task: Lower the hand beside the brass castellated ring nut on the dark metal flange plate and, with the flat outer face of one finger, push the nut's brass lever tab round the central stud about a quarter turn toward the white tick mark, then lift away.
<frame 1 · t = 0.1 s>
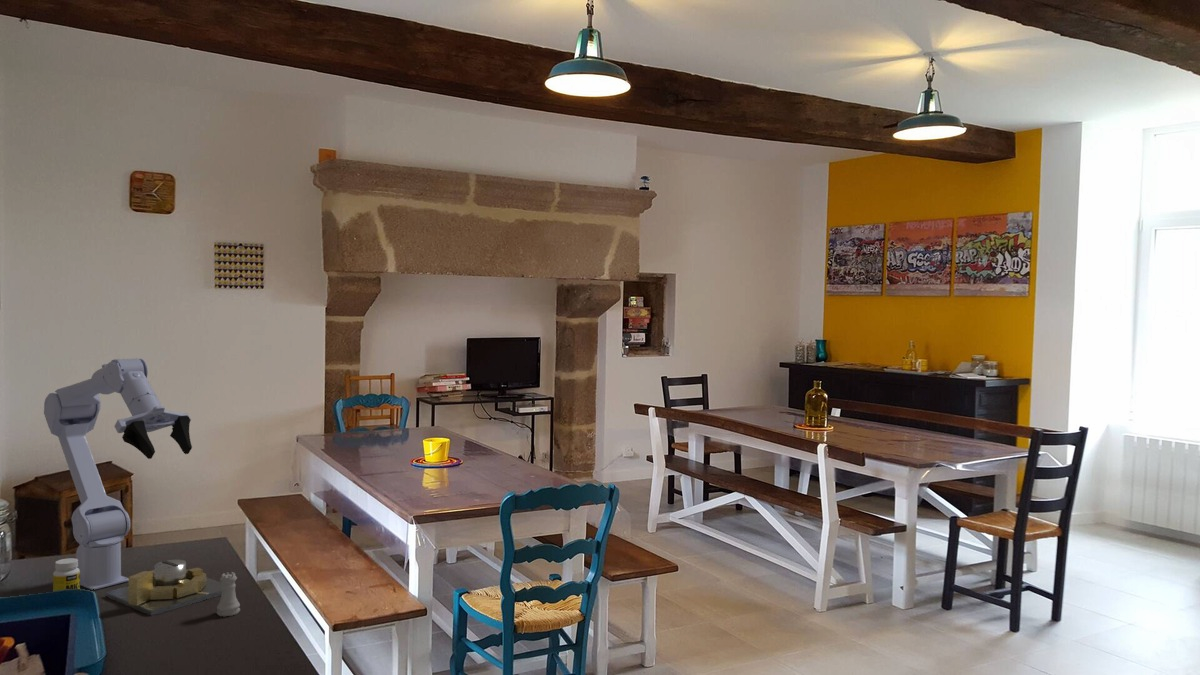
hand: (170, 453, 174), 32 cm above the table, tool tilted 50°, fingers open, 7 cm apart
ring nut: (162, 577, 183), point 4 cm above the table, hinge at 0.0°
flange plate: (170, 594, 185), on the table
supplement bottle: (66, 602, 180), on the table
rook chess piece: (228, 614, 175), on the table
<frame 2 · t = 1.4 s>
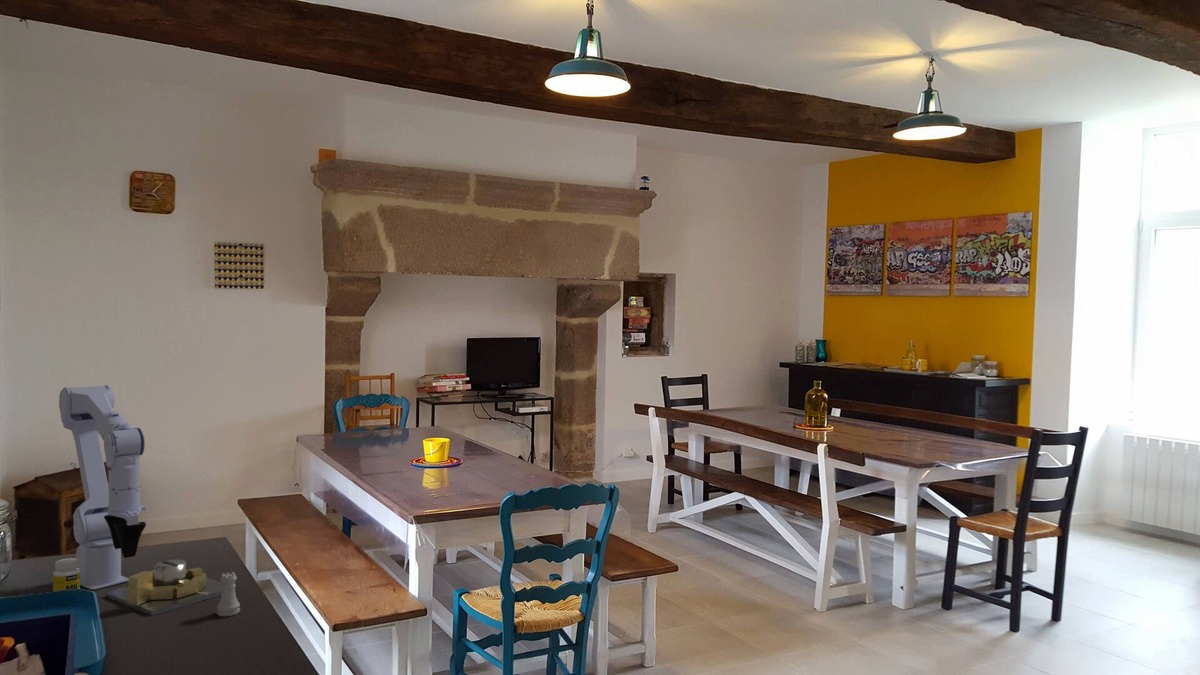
hand: (124, 552, 181), 10 cm above the table, tool pointing down, fingers open, 7 cm apart
nothing on the table moved.
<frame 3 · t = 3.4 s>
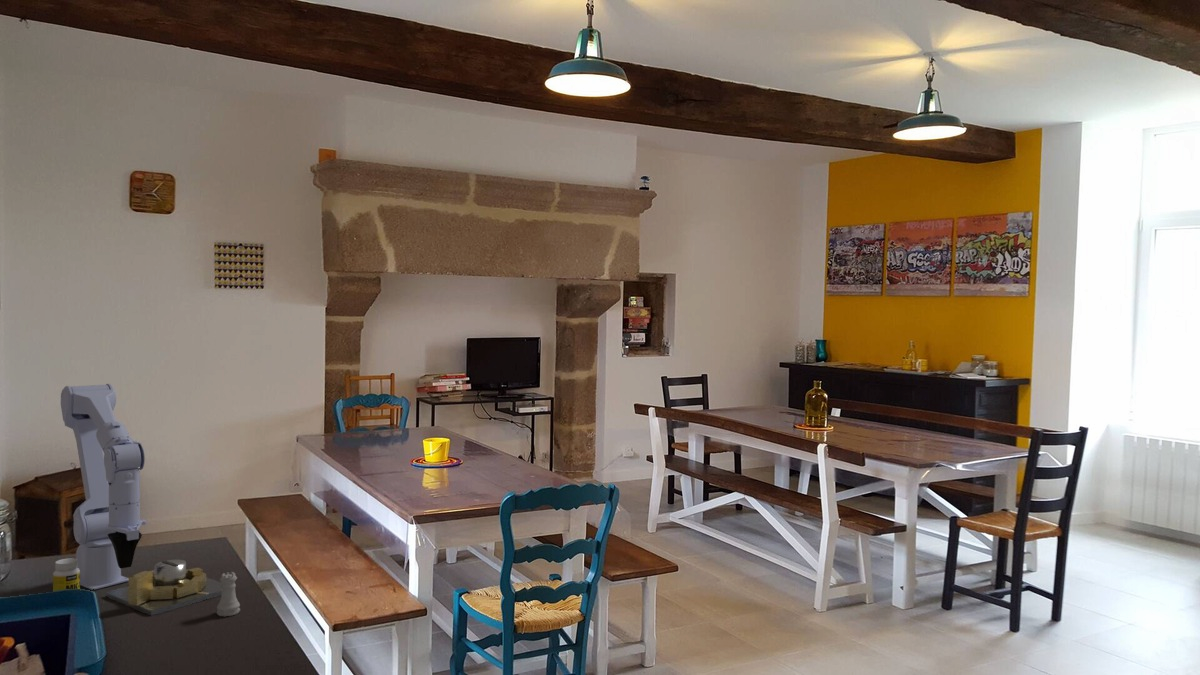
hand: (124, 566, 181), 7 cm above the table, tool pointing down, fingers closed
nothing on the table moved.
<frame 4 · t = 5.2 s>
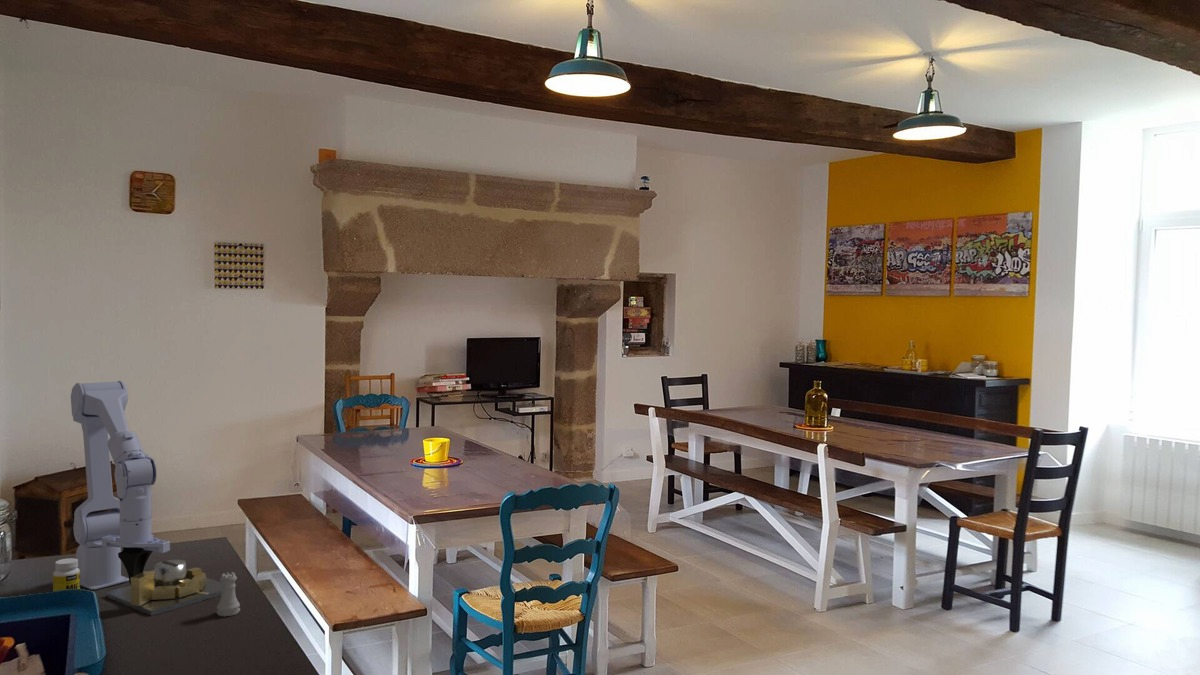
hand: (135, 584, 177), 5 cm above the table, tool pointing down, fingers closed, pressing on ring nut
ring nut: (162, 577, 183), point 4 cm above the table, hinge at 3.1°, touching gripper
everything else where it was.
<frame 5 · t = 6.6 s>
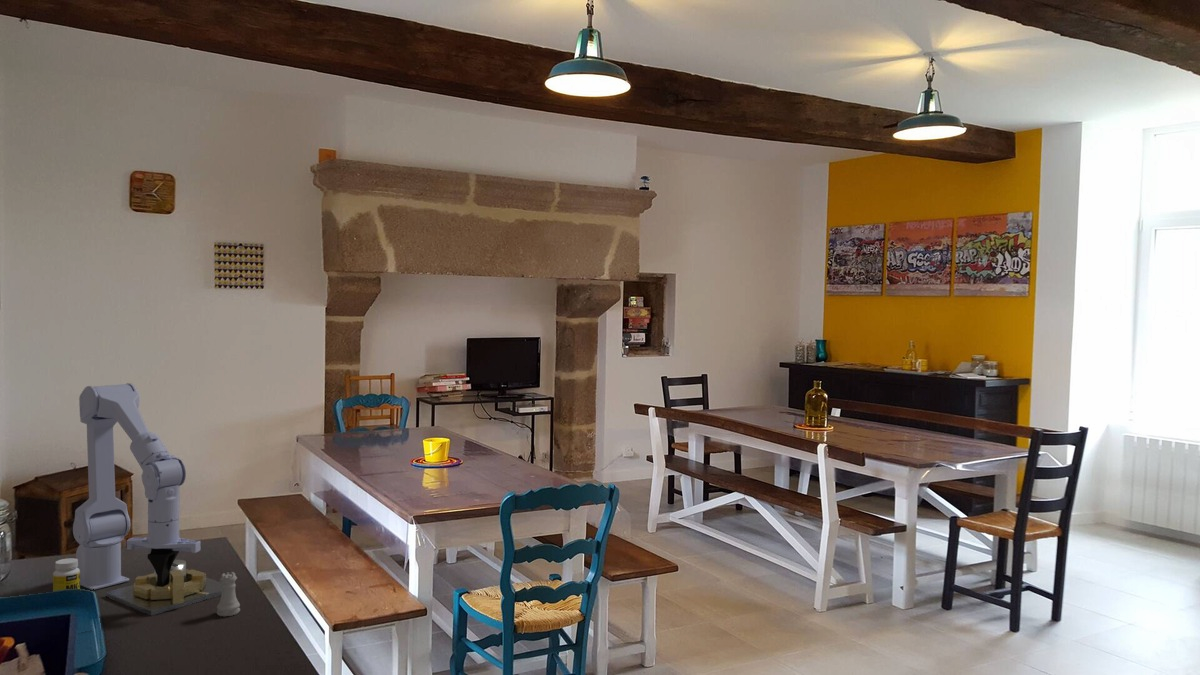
hand: (163, 585, 177), 5 cm above the table, tool pointing down, fingers closed, pressing on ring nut
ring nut: (168, 578, 183), point 4 cm above the table, hinge at 48.6°, touching gripper
everything else where it was.
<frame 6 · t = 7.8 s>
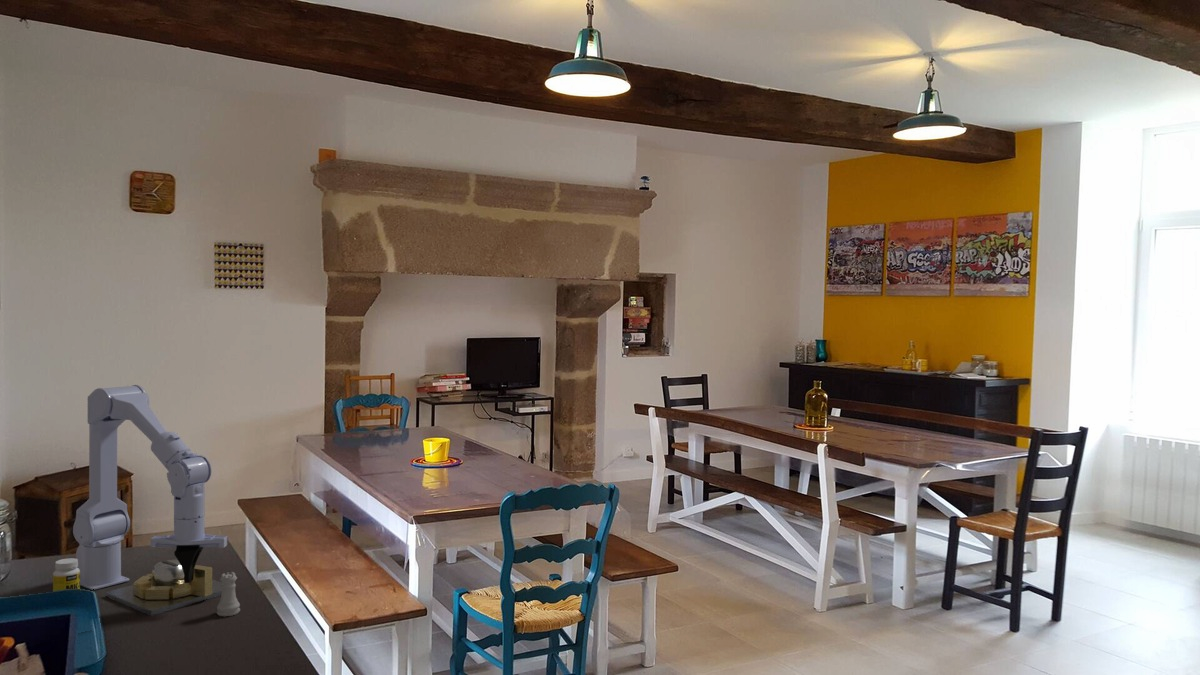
hand: (189, 581, 180), 5 cm above the table, tool pointing down, fingers closed, pressing on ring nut
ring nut: (174, 577, 184), point 4 cm above the table, hinge at 83.8°, touching gripper
everything else where it was.
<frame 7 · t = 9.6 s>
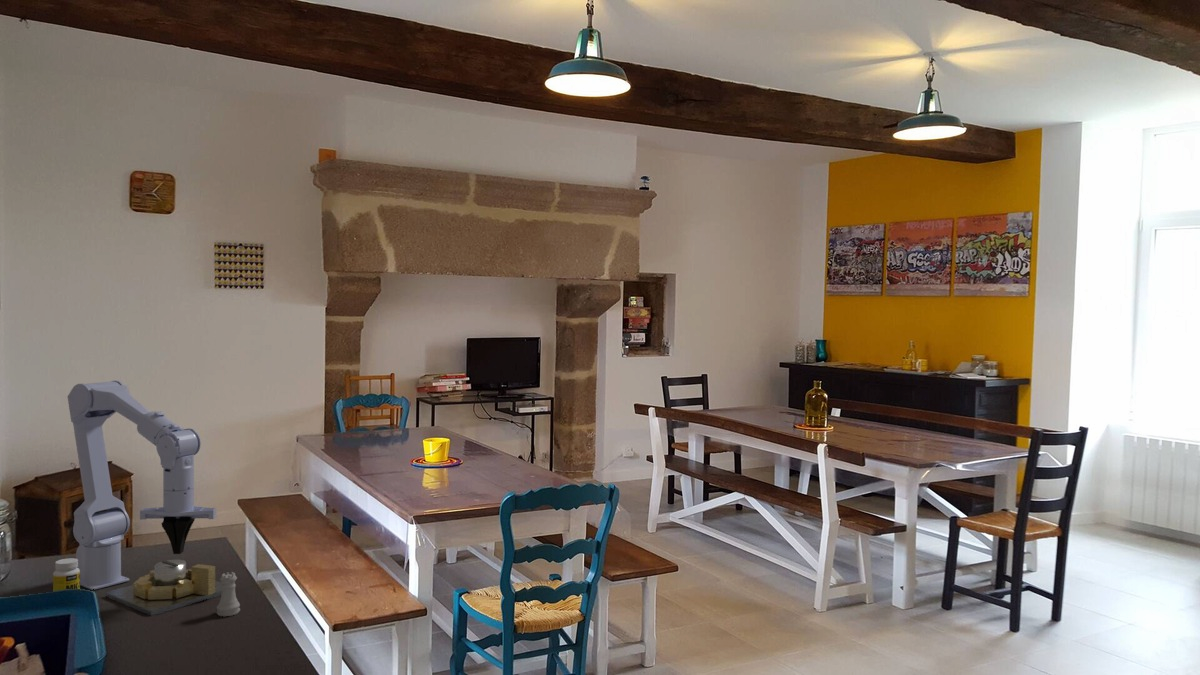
hand: (178, 552, 182), 10 cm above the table, tool pointing down, fingers closed
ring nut: (174, 577, 184), point 4 cm above the table, hinge at 88.8°
everything else where it was.
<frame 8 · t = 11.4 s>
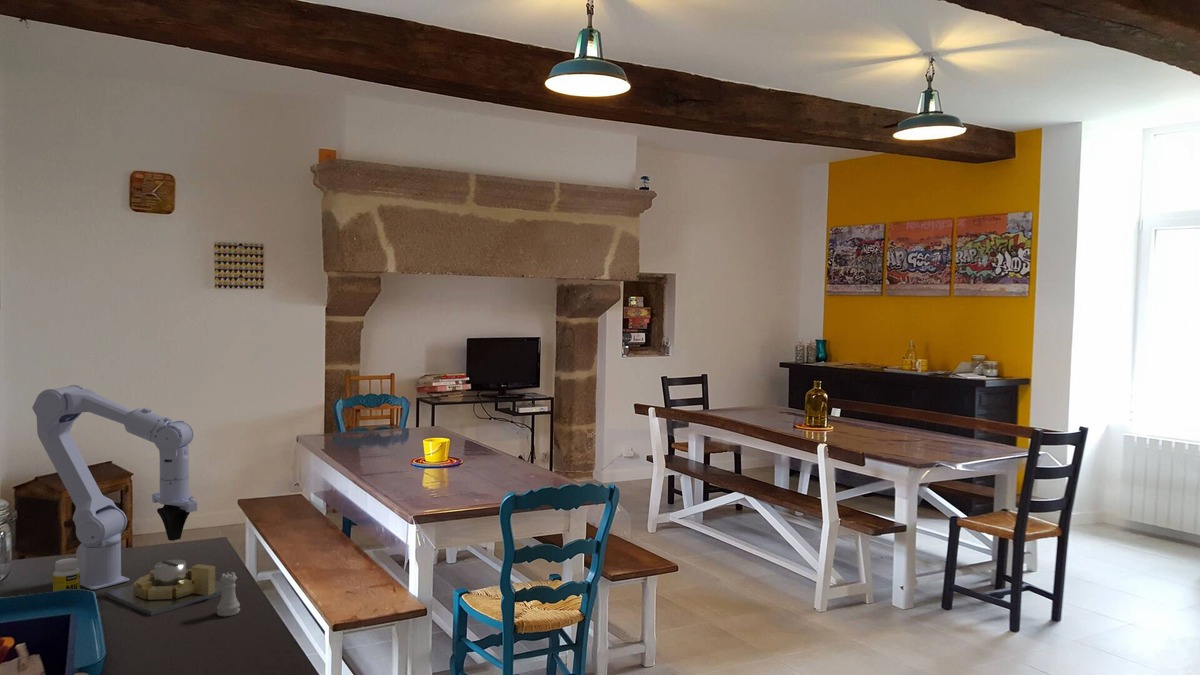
hand: (174, 539, 191), 10 cm above the table, tool pointing down, fingers closed
nothing on the table moved.
at the end: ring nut at +89° (first picture: +0°) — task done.
